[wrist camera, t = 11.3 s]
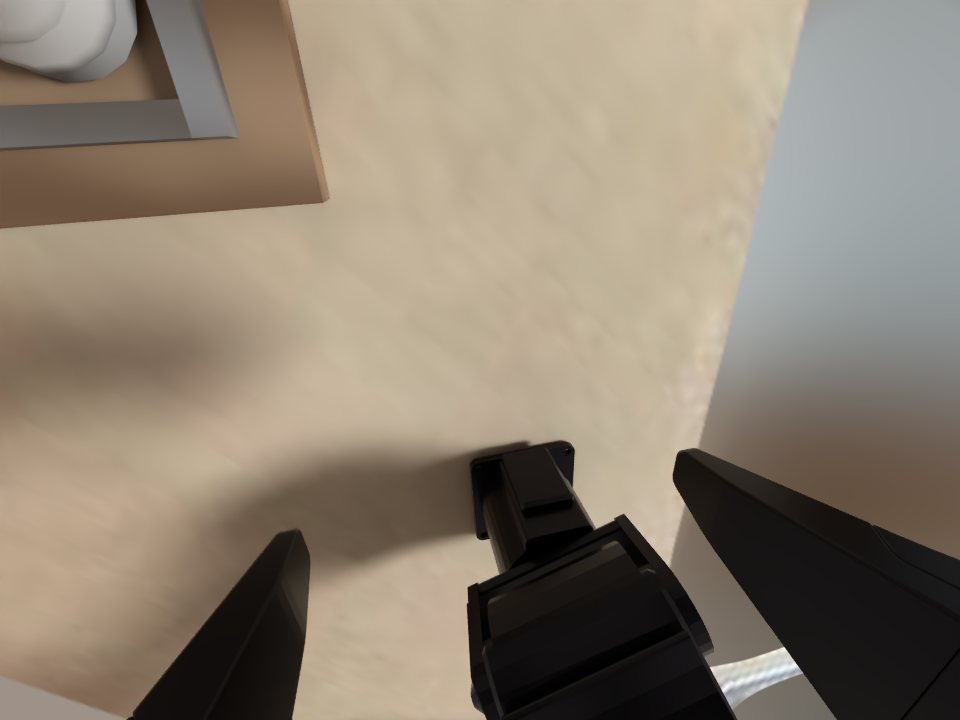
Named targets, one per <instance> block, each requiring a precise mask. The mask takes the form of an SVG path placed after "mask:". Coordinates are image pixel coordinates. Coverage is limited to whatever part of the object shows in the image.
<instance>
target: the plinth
mask: <svg viewBox="0 0 960 720" xmlns="http://www.w3.org/2000/svg"><path fill="white" fill-rule="evenodd" d="M135 2H136V19H137V35H136V37H135V40H134V42H133V45H132V47H131V50H130V52H129V55H128V57H127V60H126V62H124V63H123V64H122V65H120V66H119V67H117V68H116V69H115V70H113V71H112V72H111V73H109V74H108V75H107V76H105V77H104V78H102V79H95V80H87V81H78V82H66V81H62V80H59V79H55V78H51V77H48V76H44V75H40V74H37V73H33V72H31V71H29V70H27V69H26V68H24V67H20V66H17V65H13V64H10V63H6V62H4V61H3V60H1V59H0V228H12V227H25V226H38V225H50V224H63V223H75V222H88V221H100V220H113V219H126V218H138V217H151V216H163V215H176V214H188V213H201V212H214V211H226V210H239V209H251V208H264V207H276V206H289V205H302V204H314V203H324V202H325V201H327V200H328V199H330V198H329V194H328V189H327V184H326V179H325V175H324V170H323V165H322V160H321V156H320V151H319V146H318V141H317V137H316V132H315V127H314V122H313V118H312V113H311V108H310V104H309V99H308V94H307V89H306V85H305V80H304V75H303V70H302V66H301V61H300V56H299V51H298V47H297V42H296V37H295V32H294V28H293V23H292V18H291V13H290V9H289V4H288V0H135Z"/></svg>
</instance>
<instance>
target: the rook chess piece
mask: <svg viewBox="0 0 960 720" xmlns="http://www.w3.org/2000/svg"><path fill="white" fill-rule="evenodd" d="M136 35H137V19H136V2H135V0H0V59H1V60H3V61H4V62H6V63H10V64H13V65H17V66H20V67H24V68H26V69H27V70H29V71H31V72H33V73H37V74H40V75H44V76H48V77H51V78H55V79H59V80H62V81H66V82H78V81H87V80H95V79H102V78H104V77H105V76H107V75H108V74H109V73H111V72H112V71H113V70H115V69H116V68H117V67H119V66H120V65H122V64H123V63H124V62H126V60H127V57H128V55H129V52H130V50H131V47H132V45H133V42H134V40H135V37H136Z"/></svg>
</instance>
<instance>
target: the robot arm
mask: <svg viewBox="0 0 960 720" xmlns="http://www.w3.org/2000/svg"><path fill="white" fill-rule="evenodd" d="M566 449H568V450H567V451H565V450H566ZM564 451H565V452H564ZM574 455H575V450H574V447H573V446H572V444H571V443H569V442H562V443H556V444H551V445H546V446H541V447H535V448H530V449H525V450H519V451H514V452H509V453H504V454H498V455H493V456H488V457H482V458H477V459H474V460H473V461H472V462H471V463H470V477H471V488H472V499H473V510H474V521H475V532H476V536H477V538H478V539H479V540H487V539H490V542H491V546H492V549H493V553H494V556H495V560H496V563H497V567H498V571H499V575H497V576H495V577H493V578H491V579H489V580H486V581H484V582H482V583H480V584H478V583H475V584H473V585H471V586H469V587H468V603H467V616H468V634H469V652H470V670H471V679H472V684H471V698H472V702H473V705H474V707H475V708H476V709H477V710H479V711H480V712H482V713H483V714H484V715H485V717H486V719H487V720H737V718H736V716H735V715H734V713H733V711H732V709H731V707H730V705H729V703H728V701H727V699H726V698H725V696H724V694H723V692H722V690H721V688H720V686H719V684H718V682H717V681H716V679H715V677H714V675H713V673H712V671H711V669H710V667H709V666H708V664H707V662H706V660H705V658H704V656H706V655H708V654H710V653H712V652H714V647H713V644H712V641H711V639H710V636H709V633H708V631H707V629H706V627H705V625H704V623H703V621H702V619H701V617H700V615H699V613H698V612H697V610H696V608H695V606H694V604H693V603H692V601H691V600H690V598H689V596H688V595H687V593H686V591H685V590H684V588H683V587H682V585H681V584H680V582H679V581H678V579H677V578H676V577H675V575H674V573H673V572H672V571H671V570H670V568H669V567H668V566H667V564H666V563H665V562H664V561H663V560H662V558H661V557H660V556H659V555H658V554H657V552H656V551H655V550H654V549H653V548H652V547H651V545H650V544H649V543H648V542H647V541H646V539H645V538H644V537H643V536H642V535H641V533H640V532H639V531H638V530H637V529H636V528H635V526H634V525H633V524H632V523H631V522H630V520H629V519H628V518H627V517H626V516H625V514H622V515H620V516H618V517H616V518H614V521H612V522H610V523H608V524H606V525H603V526H601V527H599V528H597V529H596V528H595V526H594V524H593V522H592V521H591V519H590V517H589V515H588V514H587V512H586V510H585V509H584V507H583V505H582V503H581V502H580V500H579V498H578V497H577V495H576V493H575V491H574V490H573V472H574ZM478 466H481V467H480V468H476V467H478ZM673 482H674V484H675V487H676V488H677V490H678V492H679V493H680V495H681V497H682V498H683V500H684V502H685V503H686V505H687V507H688V508H689V510H690V512H691V514H692V515H693V517H694V519H695V520H696V522H697V524H698V525H699V527H700V529H701V530H702V532H703V534H704V535H705V537H706V538H707V540H708V542H709V543H710V544H711V546H712V547H713V549H714V550H715V552H716V553H717V554H718V556H719V557H720V558H721V560H722V561H723V563H724V564H725V566H726V567H727V568H728V570H729V571H730V572H731V574H732V575H733V577H734V578H735V579H736V581H737V582H738V583H739V585H740V586H741V588H742V589H743V590H744V592H745V593H746V595H747V596H748V597H749V599H750V600H751V601H752V603H753V604H754V606H755V607H756V608H757V610H758V611H759V613H760V614H761V615H762V617H763V618H764V619H765V621H766V622H767V624H768V625H769V626H770V628H771V629H772V630H773V632H774V633H775V635H776V636H777V637H778V639H779V640H780V642H781V643H782V644H783V646H784V647H785V648H786V650H787V651H788V653H789V654H790V655H791V657H792V658H793V659H794V661H795V662H796V664H797V665H798V666H799V668H800V669H801V671H802V672H803V673H804V675H805V676H806V677H807V679H808V680H809V682H810V683H811V684H812V686H813V687H814V689H815V690H816V691H817V693H818V694H819V695H820V697H821V698H822V700H823V701H824V702H825V704H826V705H827V706H828V708H829V709H830V711H831V712H832V713H833V714H834V716H835V717H836V718H837V720H960V560H958V559H956V558H953V557H951V556H948V555H946V554H943V553H941V552H938V551H935V550H933V549H930V548H928V547H926V546H923V545H921V544H918V543H916V542H914V541H911V540H909V539H906V538H904V537H902V536H899V535H897V534H894V533H892V532H890V531H888V530H885V529H883V528H881V527H878V526H876V525H871V524H870V523H869V522H866V521H864V520H862V519H859V518H857V517H855V516H852V515H850V514H847V513H845V512H843V511H841V510H839V509H836V508H834V507H832V506H829V505H827V504H825V503H822V502H820V501H817V500H815V499H813V498H811V497H808V496H806V495H804V494H801V493H799V492H797V491H794V490H792V489H790V488H787V487H785V486H783V485H780V484H778V483H776V482H773V481H771V480H769V479H766V478H764V477H762V476H759V475H757V474H755V473H752V472H750V471H748V470H746V469H743V468H741V467H738V466H736V465H734V464H731V463H729V462H727V461H724V460H722V459H720V458H717V457H715V456H713V455H710V454H708V453H706V452H703V451H701V450H699V449H696V448H691V449H686V450H681V451H679V452H678V454H677V456H676V461H675V466H674V471H673ZM309 579H310V555H309V551H308V549H307V546H306V543H305V540H304V538H303V535H302V532H301V531H300V530H299V529H297V528H295V529H290V530H285V531H281V532H279V533H278V534H276V535H275V537H274V538H273V539H272V540H271V542H270V543H269V544H268V545H267V546H266V548H265V549H264V550H263V551H262V553H261V554H260V555H259V556H258V558H257V559H256V560H255V561H254V563H253V564H252V565H251V566H250V568H249V569H248V570H247V571H246V573H245V574H244V575H243V576H242V577H241V579H240V580H239V581H238V582H237V584H236V585H235V586H234V587H233V589H232V590H231V591H230V592H229V594H228V595H227V596H226V597H225V599H224V600H223V601H222V602H221V603H220V605H219V606H218V607H217V608H216V610H215V611H214V612H213V613H212V615H211V616H210V617H209V618H208V620H207V621H206V622H205V623H204V625H203V626H202V627H201V628H200V629H199V631H198V632H197V633H196V634H195V636H194V637H193V638H192V639H191V641H190V642H189V643H188V644H187V646H186V647H185V648H184V649H183V651H182V652H181V653H180V654H179V655H178V657H177V658H176V659H175V660H174V662H173V663H172V664H171V665H170V667H169V668H168V669H167V670H166V672H165V673H164V674H163V675H162V677H161V678H160V679H159V680H158V681H157V683H156V684H155V685H154V686H153V688H152V689H151V690H150V691H149V693H148V694H147V695H146V696H145V698H144V699H143V700H142V701H141V703H140V704H139V705H138V706H137V707H136V709H135V710H134V711H133V717H129V718H127V720H292V716H293V710H294V704H295V699H296V693H297V687H298V681H299V676H300V670H301V664H302V658H303V652H304V645H305V638H306V625H307V610H308V594H309Z"/></svg>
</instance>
